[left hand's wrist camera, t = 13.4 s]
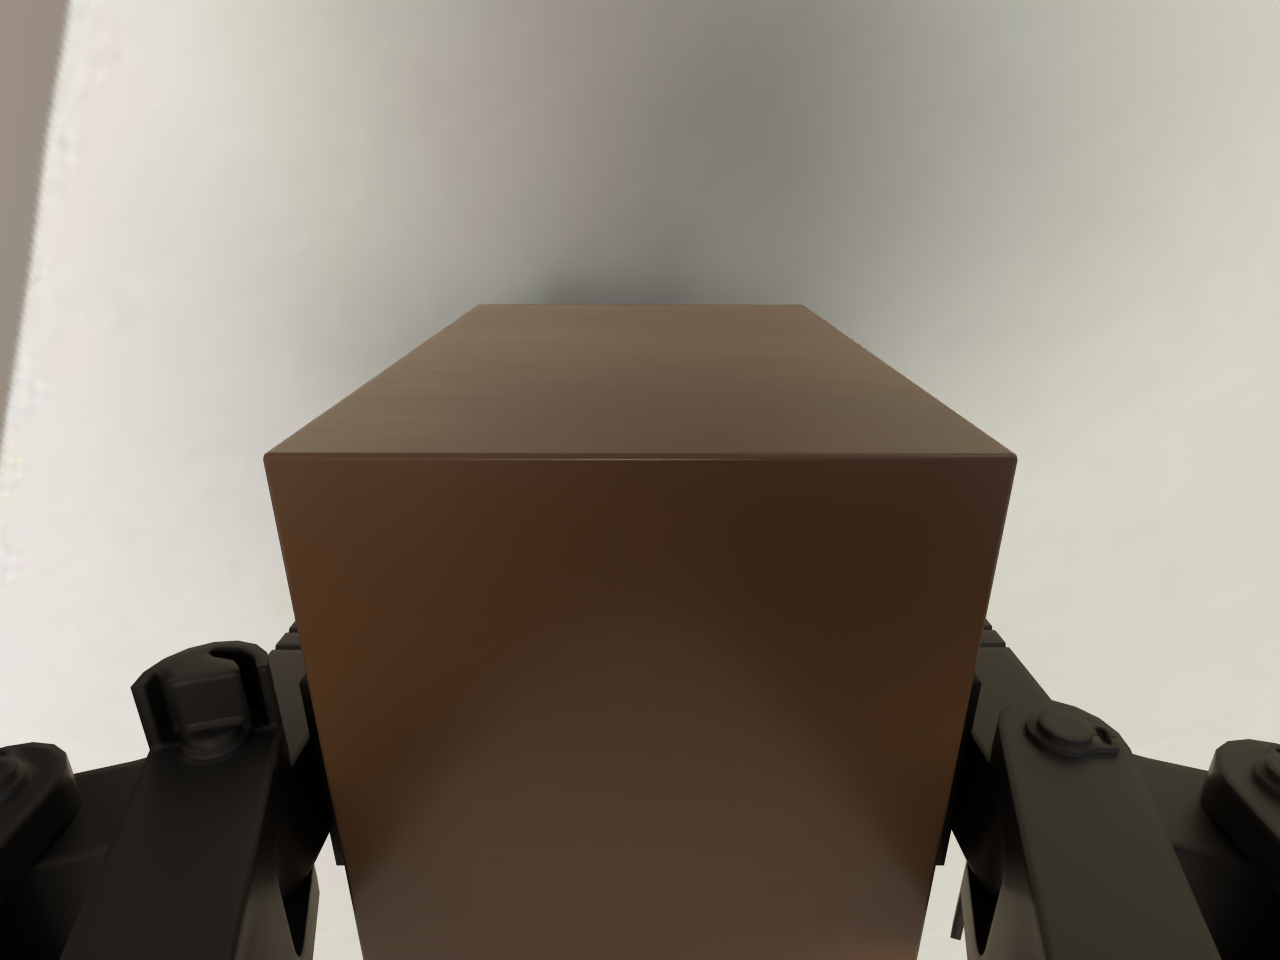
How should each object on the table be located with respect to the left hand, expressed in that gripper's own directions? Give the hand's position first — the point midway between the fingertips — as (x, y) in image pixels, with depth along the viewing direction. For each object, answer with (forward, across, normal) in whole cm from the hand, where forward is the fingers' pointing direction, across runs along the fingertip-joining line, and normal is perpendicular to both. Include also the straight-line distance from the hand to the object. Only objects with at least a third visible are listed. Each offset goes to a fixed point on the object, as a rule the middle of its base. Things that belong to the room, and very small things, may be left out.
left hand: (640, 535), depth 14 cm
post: (0, 0, -33) cm, 33 cm away
